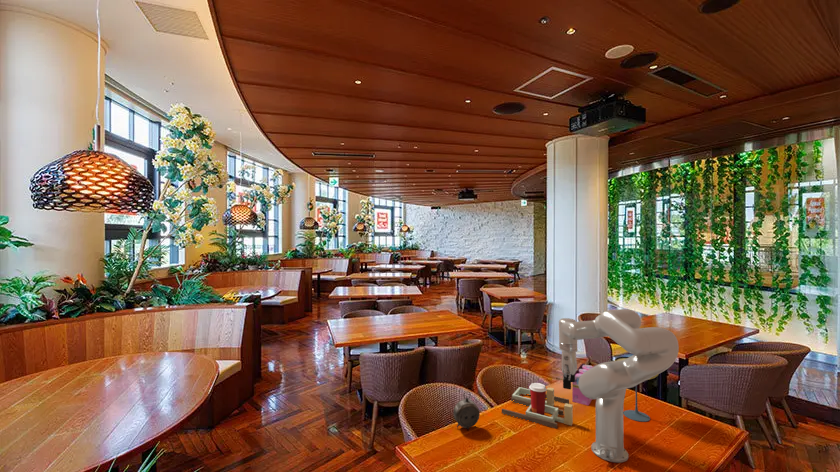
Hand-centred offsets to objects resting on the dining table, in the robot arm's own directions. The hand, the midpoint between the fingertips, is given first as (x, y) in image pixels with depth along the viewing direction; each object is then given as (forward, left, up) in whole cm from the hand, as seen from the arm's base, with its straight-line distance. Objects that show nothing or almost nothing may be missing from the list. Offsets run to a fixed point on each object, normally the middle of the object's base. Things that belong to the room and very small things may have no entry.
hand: (569, 385), depth 158 cm
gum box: (+36, -2, -18) cm, 40 cm away
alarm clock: (-29, +37, -18) cm, 50 cm away
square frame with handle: (+14, +19, -17) cm, 30 cm away
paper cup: (0, +14, -18) cm, 23 cm away
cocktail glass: (+25, -25, -18) cm, 40 cm away
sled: (0, +8, -17) cm, 19 cm away
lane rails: (+7, +16, -17) cm, 25 cm away
